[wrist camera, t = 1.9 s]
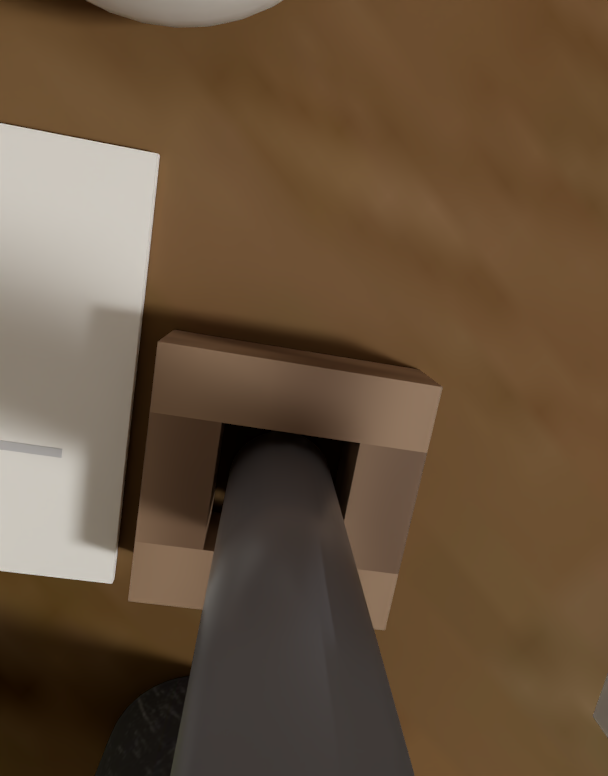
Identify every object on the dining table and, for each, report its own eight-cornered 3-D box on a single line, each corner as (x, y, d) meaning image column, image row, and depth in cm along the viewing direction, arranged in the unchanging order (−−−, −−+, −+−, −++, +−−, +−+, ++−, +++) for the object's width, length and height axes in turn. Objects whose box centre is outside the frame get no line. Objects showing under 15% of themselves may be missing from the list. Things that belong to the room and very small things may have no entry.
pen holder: (146, 556, 19) (128, 601, 16) (173, 329, 17) (157, 341, 15) (370, 584, 19) (385, 630, 17) (419, 369, 18) (442, 386, 15)
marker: (222, 504, 18) (38, 1427, 4) (236, 409, 18) (77, 1110, 3) (319, 517, 19) (488, 1412, 4) (337, 425, 18) (619, 1125, 3)
